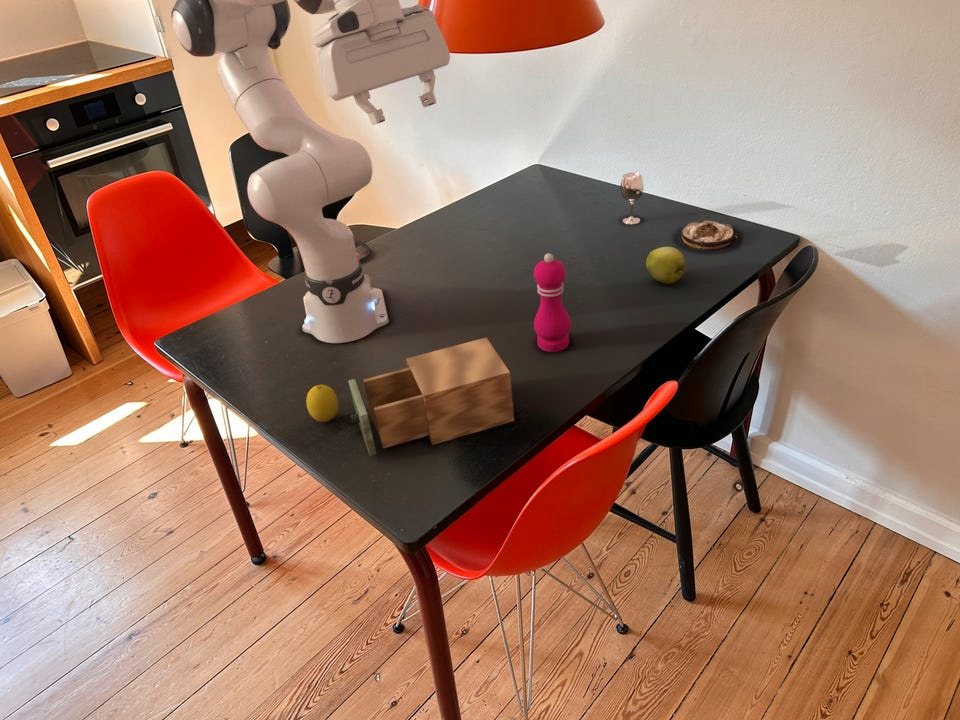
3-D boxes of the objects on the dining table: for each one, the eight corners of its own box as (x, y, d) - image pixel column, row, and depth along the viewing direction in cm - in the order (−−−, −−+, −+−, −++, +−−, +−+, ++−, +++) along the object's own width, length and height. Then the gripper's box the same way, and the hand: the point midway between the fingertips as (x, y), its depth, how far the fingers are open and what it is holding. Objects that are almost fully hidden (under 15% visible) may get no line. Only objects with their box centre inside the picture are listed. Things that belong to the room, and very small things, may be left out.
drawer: (362, 458, 129) (352, 417, 124) (351, 421, 137) (341, 382, 133) (449, 433, 132) (442, 393, 127) (431, 399, 141) (425, 359, 136)
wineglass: (616, 218, 199) (616, 174, 192) (636, 214, 200) (637, 170, 193) (626, 227, 194) (626, 182, 187) (646, 222, 195) (648, 177, 189)
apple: (671, 294, 165) (673, 261, 160) (638, 281, 171) (639, 249, 166) (694, 281, 169) (696, 248, 164) (661, 268, 175) (663, 236, 170)
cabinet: (432, 445, 131) (423, 395, 125) (414, 405, 141) (405, 358, 135) (514, 421, 135) (510, 372, 129) (491, 384, 144) (486, 337, 138)
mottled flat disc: (724, 259, 176) (726, 243, 174) (665, 246, 185) (665, 230, 182) (750, 234, 185) (751, 218, 183) (692, 222, 194) (693, 207, 191)
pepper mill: (568, 332, 156) (565, 243, 145) (573, 351, 150) (570, 260, 139) (533, 335, 157) (527, 247, 145) (537, 355, 151) (531, 264, 139)
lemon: (339, 429, 137) (330, 394, 133) (309, 431, 138) (299, 396, 133) (344, 410, 142) (335, 375, 137) (315, 412, 142) (305, 377, 138)
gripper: (417, 8, 116) (447, 99, 120) (301, 38, 106) (338, 137, 110) (440, -5, 111) (470, 91, 115) (319, 26, 101) (358, 130, 105)
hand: (405, 114), depth 113 cm, fingers open, 8 cm apart
